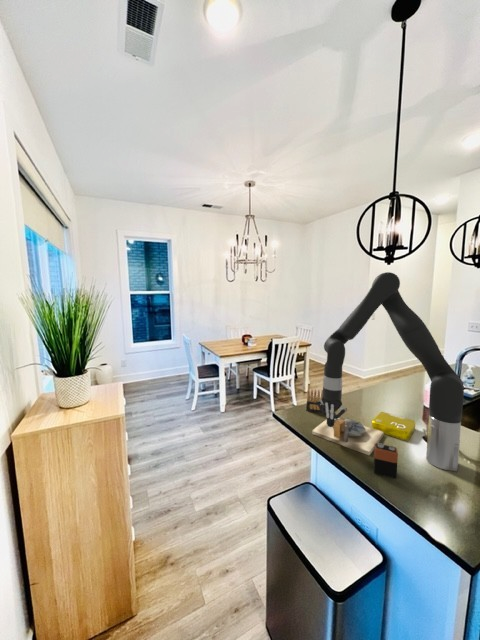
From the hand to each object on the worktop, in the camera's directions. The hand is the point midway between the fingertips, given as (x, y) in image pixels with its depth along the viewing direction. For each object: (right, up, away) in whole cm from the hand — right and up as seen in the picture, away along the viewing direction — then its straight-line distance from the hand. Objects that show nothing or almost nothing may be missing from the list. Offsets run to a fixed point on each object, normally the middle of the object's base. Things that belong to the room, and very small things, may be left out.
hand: (330, 426), depth 113 cm
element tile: (+32, -6, +10) cm, 34 cm away
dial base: (+9, -6, +5) cm, 12 cm away
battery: (+12, -8, -20) cm, 25 cm away
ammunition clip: (+2, -4, +28) cm, 29 cm away
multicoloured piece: (+8, -3, +3) cm, 9 cm away
